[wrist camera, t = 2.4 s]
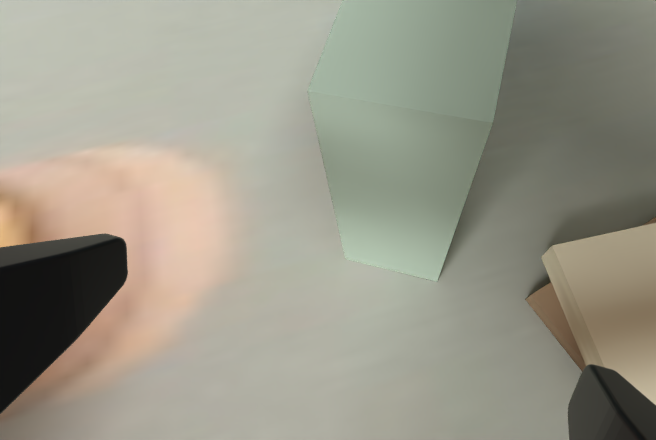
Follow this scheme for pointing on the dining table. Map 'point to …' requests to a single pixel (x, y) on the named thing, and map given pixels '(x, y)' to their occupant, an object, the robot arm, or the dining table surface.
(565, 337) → the slab bottom
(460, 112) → the post
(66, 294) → the robot arm
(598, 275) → the slab top
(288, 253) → the dining table surface
